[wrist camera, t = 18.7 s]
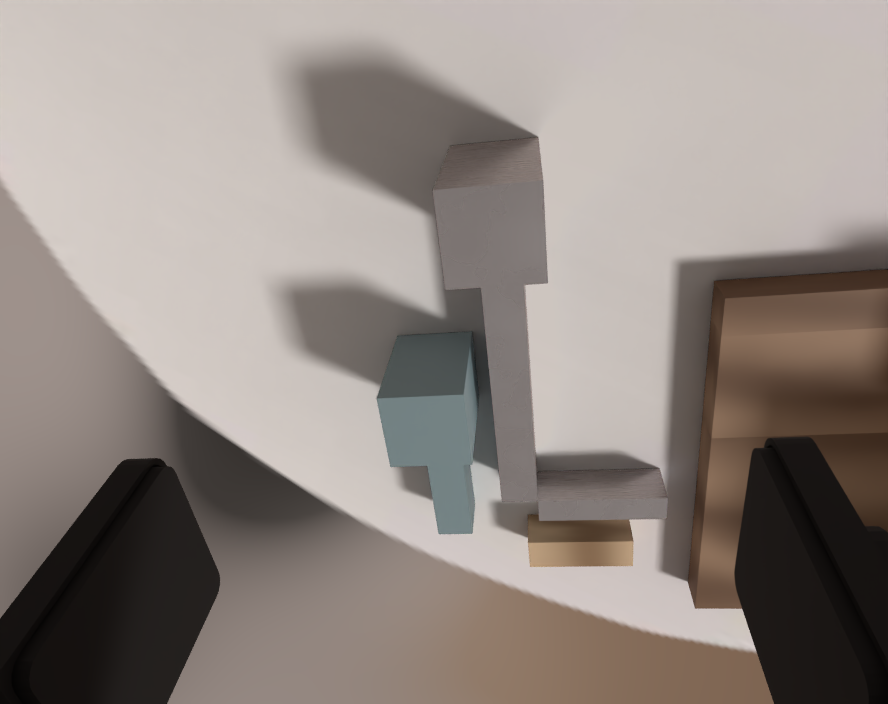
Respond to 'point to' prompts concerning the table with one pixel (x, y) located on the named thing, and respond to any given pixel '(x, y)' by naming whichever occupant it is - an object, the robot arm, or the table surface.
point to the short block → (579, 543)
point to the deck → (789, 401)
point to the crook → (520, 324)
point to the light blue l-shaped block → (434, 418)
